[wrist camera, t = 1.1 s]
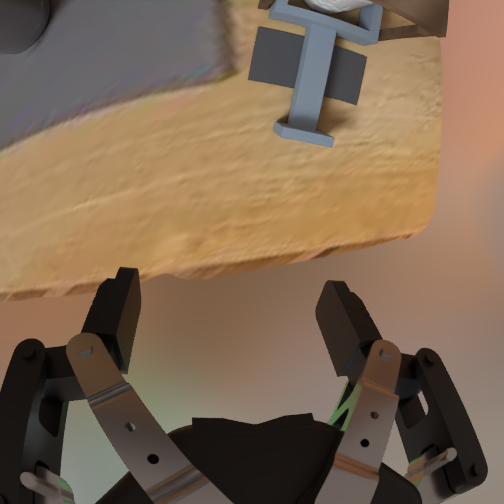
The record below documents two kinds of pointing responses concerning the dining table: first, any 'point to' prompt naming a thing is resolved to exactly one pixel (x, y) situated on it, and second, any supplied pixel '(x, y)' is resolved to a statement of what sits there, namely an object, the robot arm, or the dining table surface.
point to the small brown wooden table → (409, 17)
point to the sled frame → (318, 64)
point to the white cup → (336, 5)
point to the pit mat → (288, 58)
